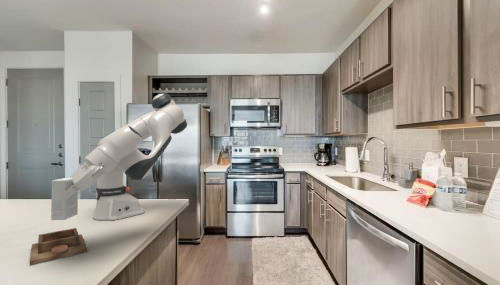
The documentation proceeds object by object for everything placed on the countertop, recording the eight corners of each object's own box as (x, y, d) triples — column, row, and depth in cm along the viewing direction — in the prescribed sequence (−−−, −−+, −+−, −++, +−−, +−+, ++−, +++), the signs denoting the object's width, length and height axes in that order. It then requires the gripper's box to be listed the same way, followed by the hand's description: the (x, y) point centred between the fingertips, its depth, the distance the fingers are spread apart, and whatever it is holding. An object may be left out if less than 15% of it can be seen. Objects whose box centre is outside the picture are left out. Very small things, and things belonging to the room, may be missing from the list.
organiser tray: (81, 237, 92) (81, 226, 92) (87, 251, 80) (87, 238, 80) (31, 247, 83) (31, 235, 83) (29, 265, 71) (29, 251, 71)
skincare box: (64, 215, 79) (65, 177, 79) (77, 214, 79) (78, 177, 79) (50, 220, 73) (51, 180, 73) (65, 220, 73) (65, 180, 73)
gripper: (113, 171, 75) (73, 208, 69) (102, 167, 91) (69, 196, 85) (96, 157, 73) (53, 194, 66) (88, 155, 88) (53, 185, 82)
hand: (62, 195), depth 76 cm, fingers closed on skincare box, 7 cm apart
